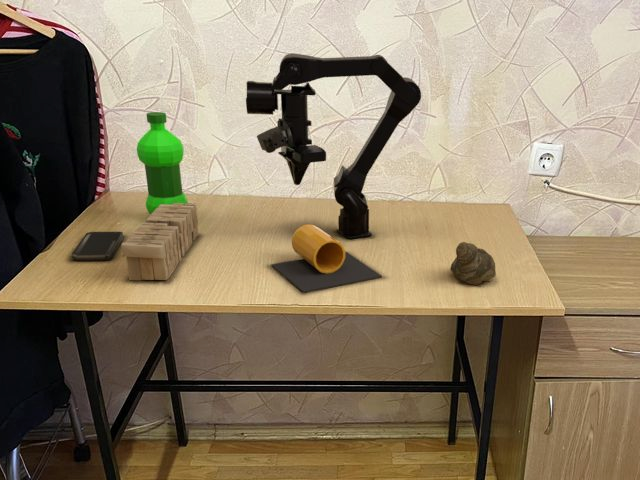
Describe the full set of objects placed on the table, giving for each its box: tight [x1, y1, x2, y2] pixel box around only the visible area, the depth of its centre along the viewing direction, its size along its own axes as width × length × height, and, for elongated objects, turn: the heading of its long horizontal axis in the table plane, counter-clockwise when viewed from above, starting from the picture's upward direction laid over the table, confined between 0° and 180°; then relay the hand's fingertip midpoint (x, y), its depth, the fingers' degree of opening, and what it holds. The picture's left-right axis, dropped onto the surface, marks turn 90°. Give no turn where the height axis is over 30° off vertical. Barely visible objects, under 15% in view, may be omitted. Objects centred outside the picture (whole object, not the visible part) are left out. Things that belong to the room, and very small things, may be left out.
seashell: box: [450, 241, 497, 286], centre depth 152 cm, size 11×12×10 cm
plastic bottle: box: [136, 111, 189, 215], centre depth 171 cm, size 10×10×25 cm
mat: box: [271, 251, 383, 294], centre depth 152 cm, size 18×16×1 cm
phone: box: [71, 231, 125, 262], centre depth 156 cm, size 8×1×15 cm
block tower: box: [120, 202, 199, 281], centre depth 153 cm, size 8×8×29 cm
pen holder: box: [291, 224, 346, 274], centre depth 153 cm, size 7×7×11 cm
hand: (297, 184), depth 167 cm, fingers closed
